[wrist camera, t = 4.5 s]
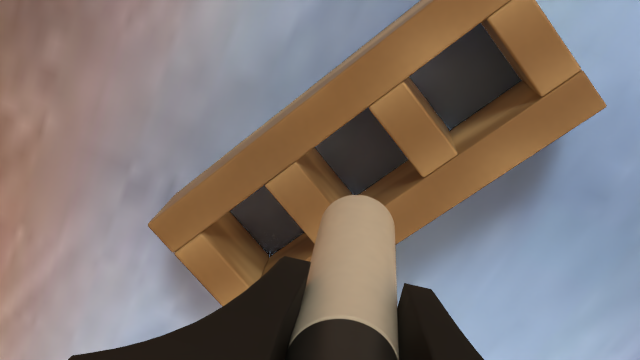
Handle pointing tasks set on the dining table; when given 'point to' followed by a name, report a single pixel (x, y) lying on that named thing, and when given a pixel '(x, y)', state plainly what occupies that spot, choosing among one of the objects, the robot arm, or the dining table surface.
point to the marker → (350, 287)
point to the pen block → (399, 122)
